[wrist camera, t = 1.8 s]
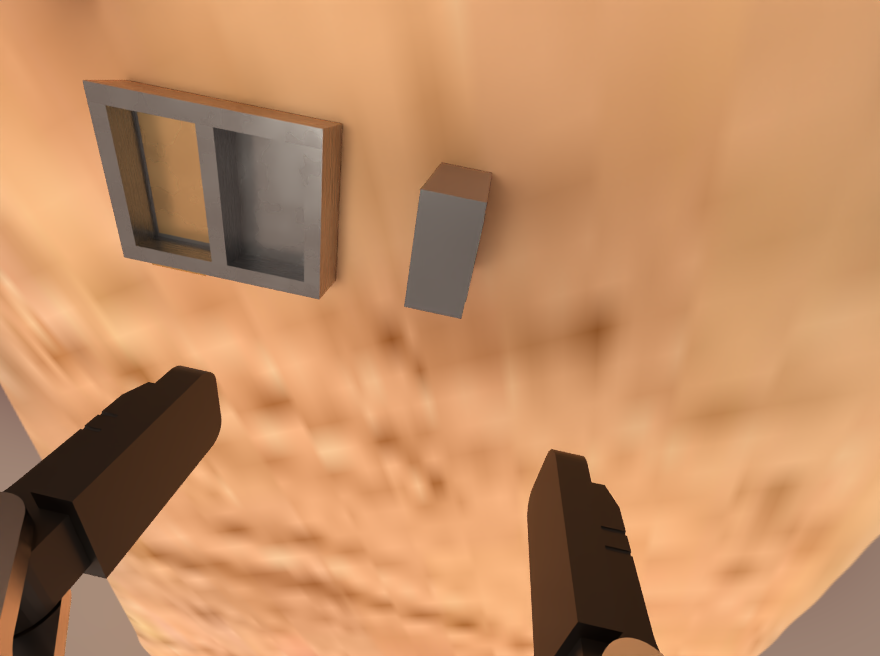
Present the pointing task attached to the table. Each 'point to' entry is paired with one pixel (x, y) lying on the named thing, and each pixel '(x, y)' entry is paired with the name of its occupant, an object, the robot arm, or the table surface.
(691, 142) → the table surface
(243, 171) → the rack
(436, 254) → the rectangular block
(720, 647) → the table surface
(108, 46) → the table surface
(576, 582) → the robot arm
